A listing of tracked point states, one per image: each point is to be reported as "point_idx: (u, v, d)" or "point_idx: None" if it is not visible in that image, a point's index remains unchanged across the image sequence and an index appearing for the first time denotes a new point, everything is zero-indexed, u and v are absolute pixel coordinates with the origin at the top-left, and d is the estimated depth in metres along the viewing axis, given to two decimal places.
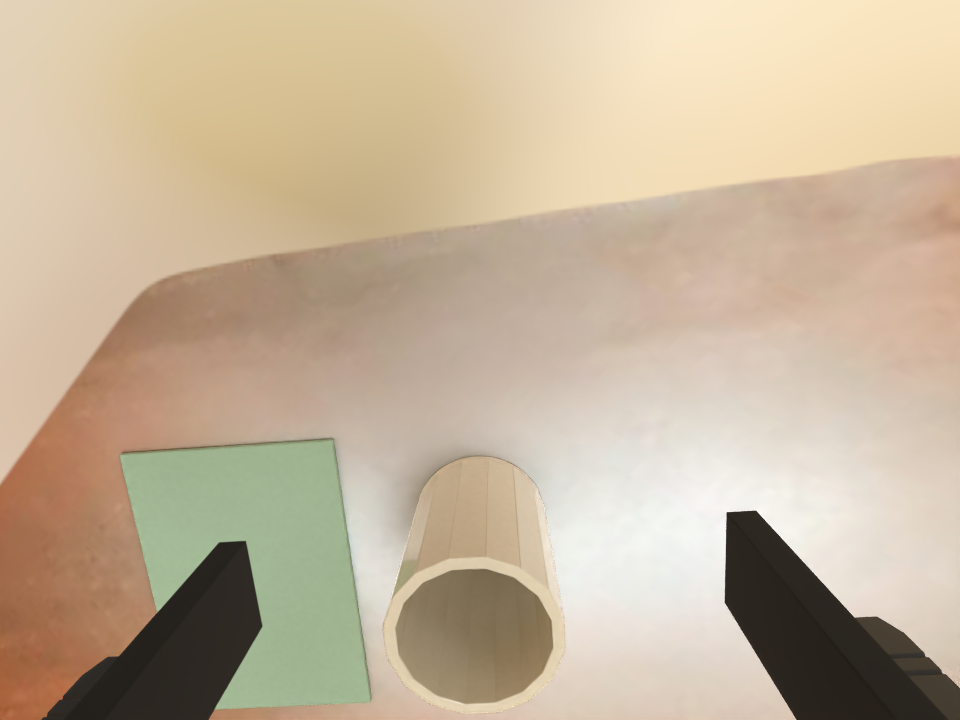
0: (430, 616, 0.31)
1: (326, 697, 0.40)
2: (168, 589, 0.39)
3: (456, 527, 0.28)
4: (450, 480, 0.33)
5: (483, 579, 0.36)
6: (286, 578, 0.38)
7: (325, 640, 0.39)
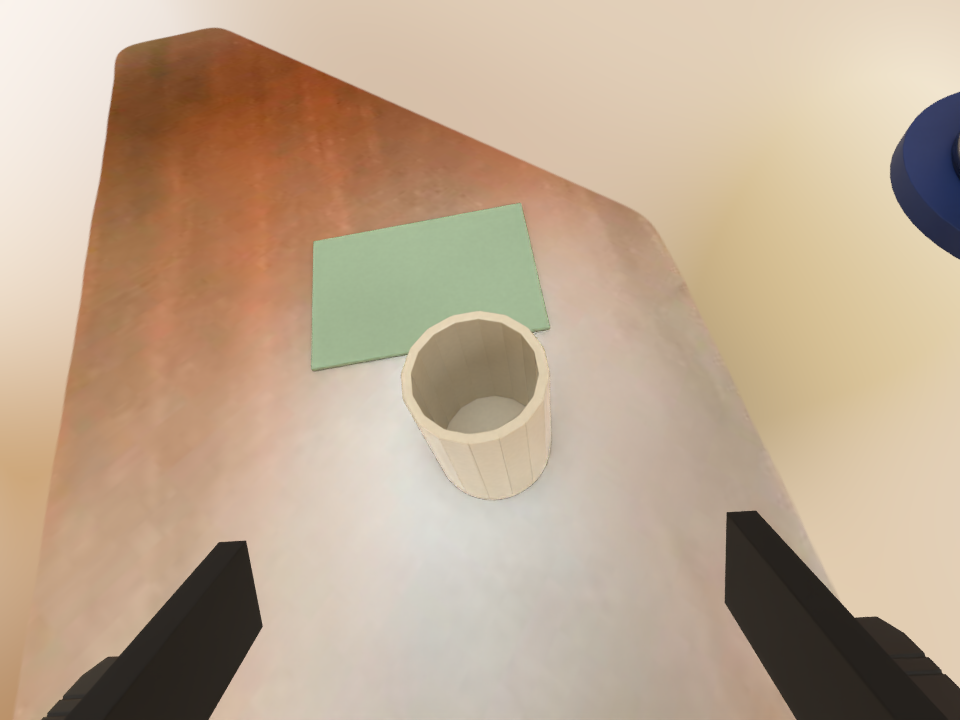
0: (443, 375, 0.38)
1: (318, 336, 0.48)
2: (417, 231, 0.53)
3: None
4: None
5: None
6: (428, 303, 0.48)
7: (372, 332, 0.48)
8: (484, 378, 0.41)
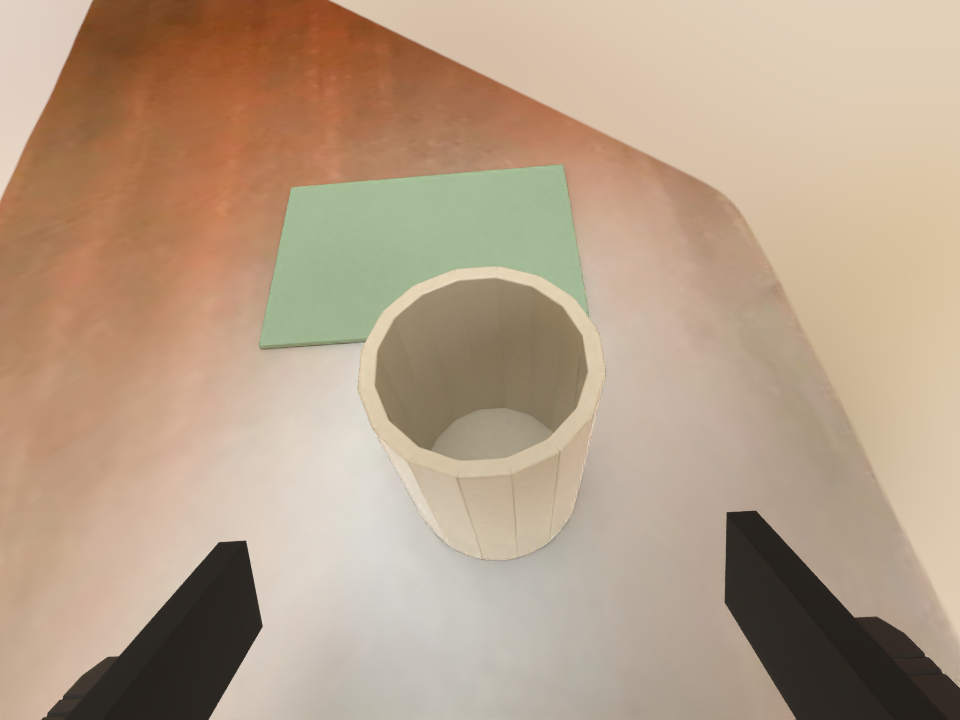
0: (433, 365, 0.25)
1: (276, 303, 0.36)
2: (425, 186, 0.40)
3: None
4: None
5: None
6: (428, 276, 0.36)
7: (348, 306, 0.35)
8: (493, 379, 0.28)
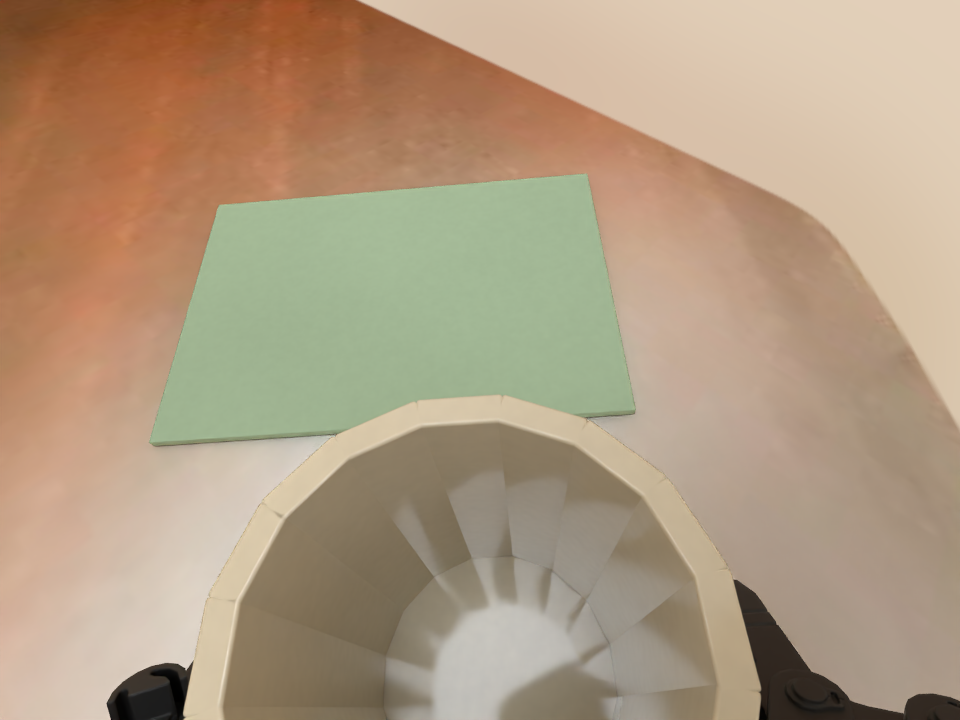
0: (388, 540, 0.14)
1: (180, 376, 0.25)
2: (399, 204, 0.30)
3: None
4: None
5: (376, 677, 0.17)
6: (399, 335, 0.25)
7: (283, 381, 0.24)
8: (494, 533, 0.17)
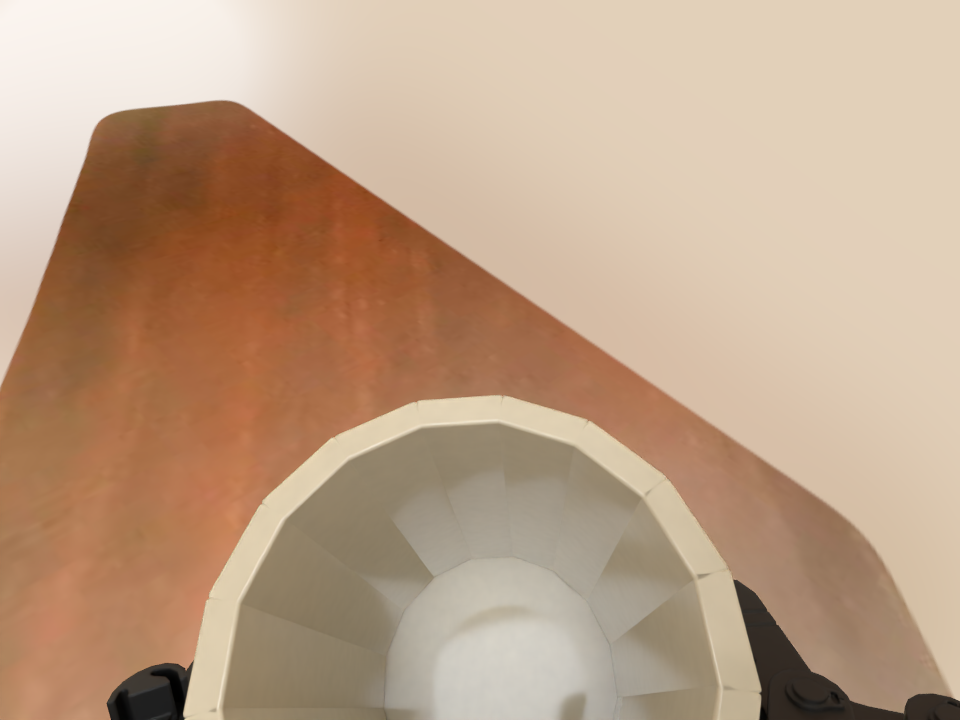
0: (388, 540, 0.14)
1: None
2: None
3: None
4: None
5: (376, 678, 0.17)
6: None
7: None
8: (494, 534, 0.17)
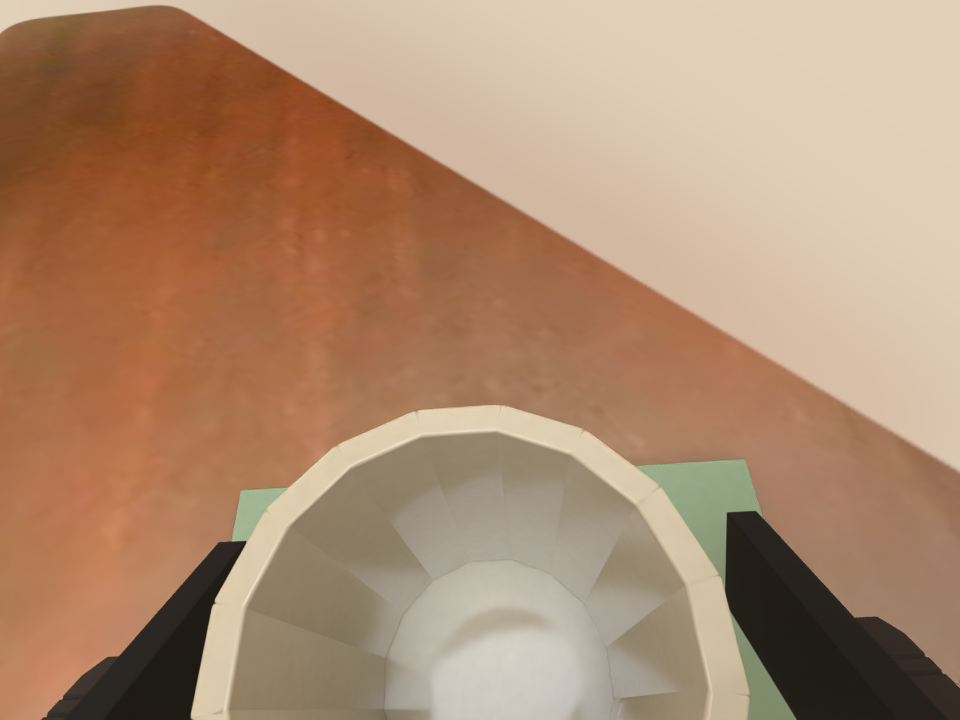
0: (388, 545, 0.14)
1: None
2: None
3: None
4: None
5: (376, 680, 0.17)
6: None
7: None
8: (492, 538, 0.17)
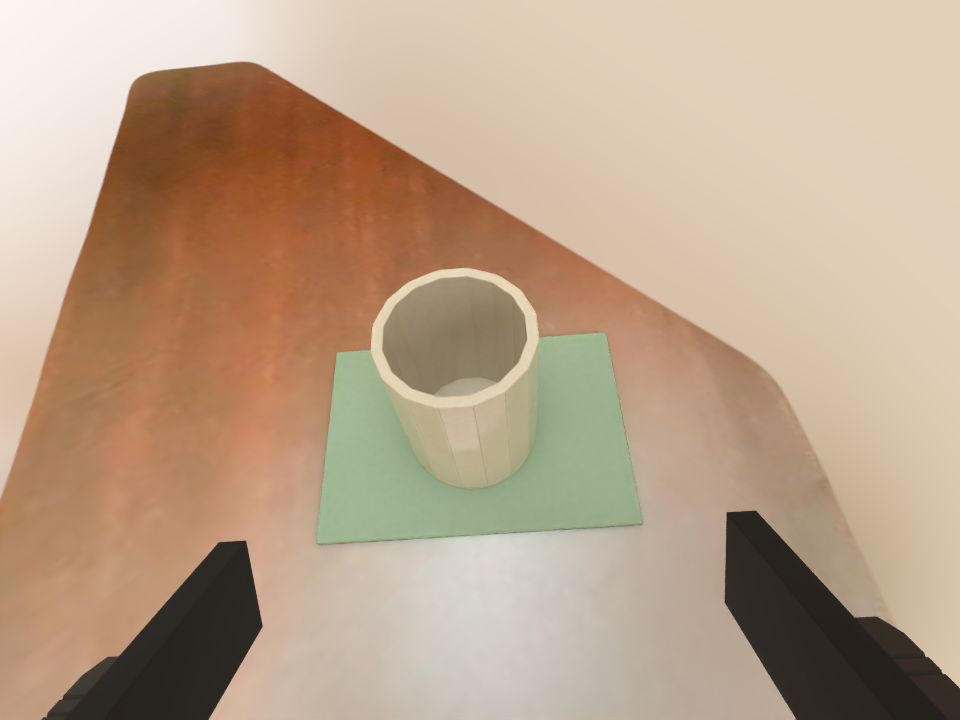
0: (423, 341, 0.34)
1: (330, 493, 0.36)
2: None
3: None
4: None
5: None
6: None
7: (402, 498, 0.36)
8: (469, 354, 0.37)
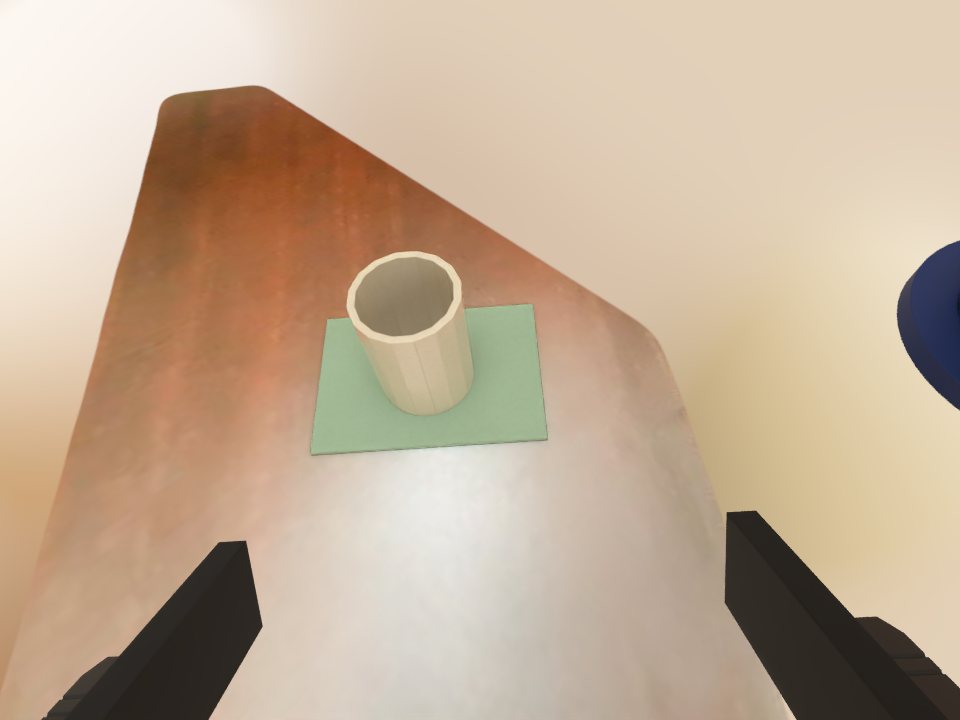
0: (388, 305, 0.47)
1: (320, 419, 0.49)
2: None
3: (464, 305, 0.43)
4: None
5: None
6: None
7: (374, 422, 0.49)
8: (424, 317, 0.49)
